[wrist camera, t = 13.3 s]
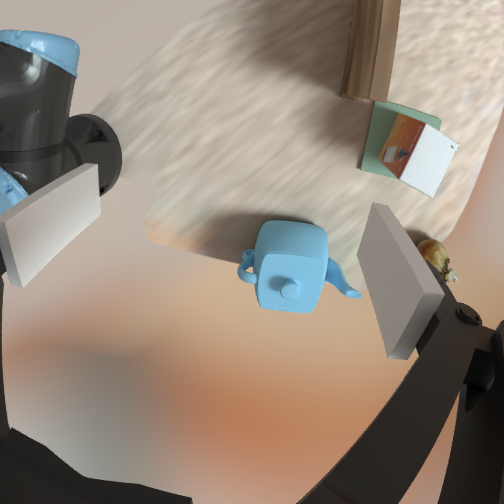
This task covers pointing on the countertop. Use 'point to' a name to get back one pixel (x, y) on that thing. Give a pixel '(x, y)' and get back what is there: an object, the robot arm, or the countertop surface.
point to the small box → (417, 153)
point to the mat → (386, 133)
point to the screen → (371, 50)
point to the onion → (437, 258)
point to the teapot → (291, 267)
